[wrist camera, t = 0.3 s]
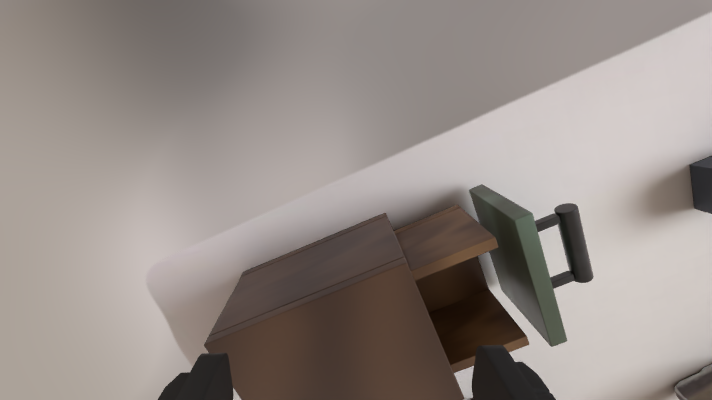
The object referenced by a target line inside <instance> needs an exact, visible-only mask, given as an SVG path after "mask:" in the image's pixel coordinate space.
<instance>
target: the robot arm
mask: <svg viewBox="0 0 712 400" xmlns="http://www.w3.org/2000/svg"><path fill="white" fill-rule="evenodd" d="M472 392H473V397H474V400H556V399H555V398H554V396H553V395H552V394H551V393H549V389H548V388H547V387H546V385H545V384H544V383H543V381H542V380H541V378H540V377H539V376H538V374H536V373H535V372H534V371H533V370H532V369H530V368H529V367H528V366H527V365H525V364H524V363H523V362H515V361H514V360H513V358H512V357H511V355H510V354H509V352H508V351H507V349H506V348H505V347H504V346H503V345H481V346H478V347H477V349H476V356H475V363H474V370H473V378H472ZM158 400H233V385H232V378H231V371H230V363H229V357H228V354H227V353H207V354H201V355H200V356H199V357H198V359H197V361H196V363H195V365H194V366H193V368H192V370H191V372H190V373H180V374H179V375H178V376H177V377H176V378H175V379H174V380H173V381H172V382H170V383H169V384H168V386H166V387H165V389H164V390H163V392H162V393H161V395H160V397H159V398H158Z"/></svg>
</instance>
